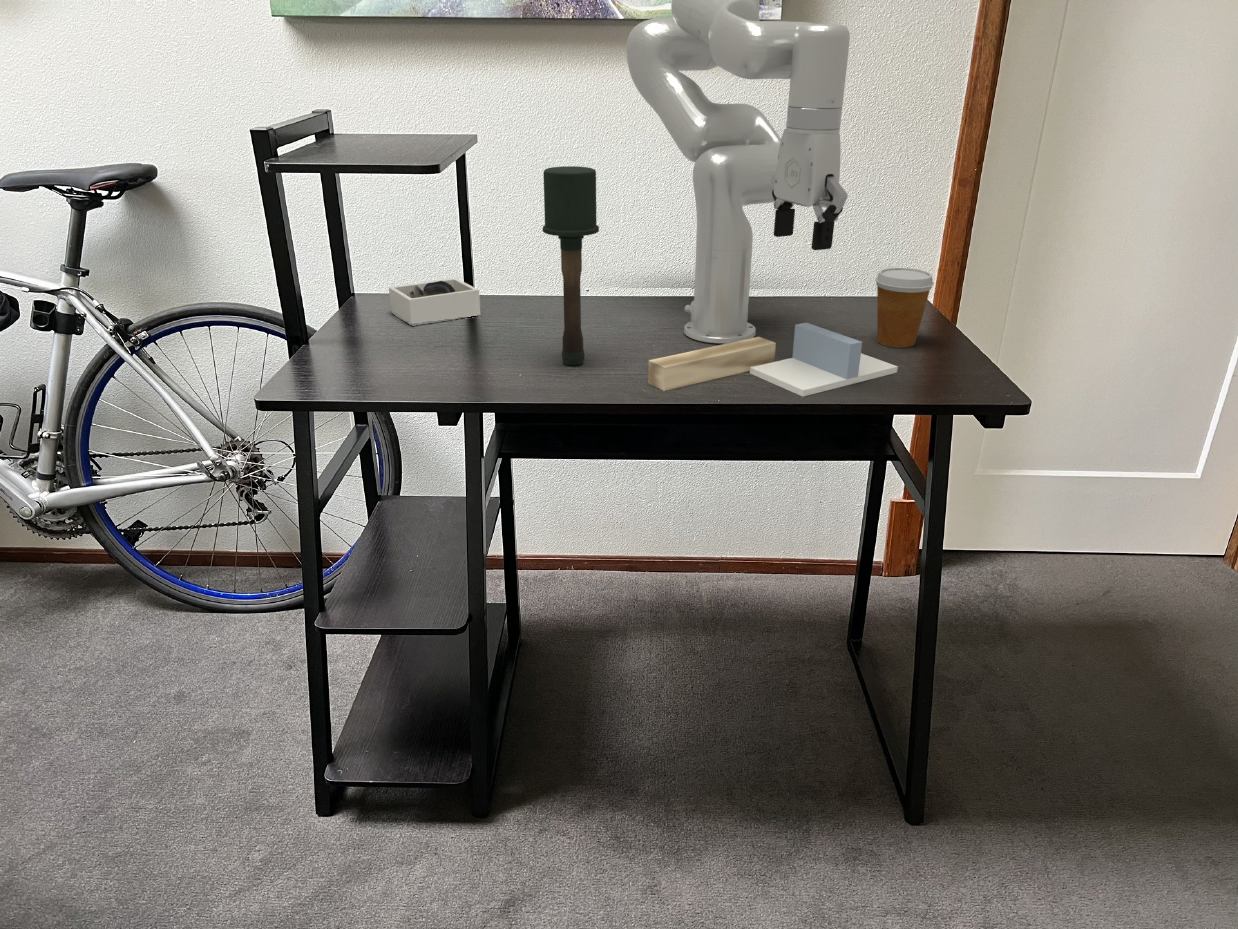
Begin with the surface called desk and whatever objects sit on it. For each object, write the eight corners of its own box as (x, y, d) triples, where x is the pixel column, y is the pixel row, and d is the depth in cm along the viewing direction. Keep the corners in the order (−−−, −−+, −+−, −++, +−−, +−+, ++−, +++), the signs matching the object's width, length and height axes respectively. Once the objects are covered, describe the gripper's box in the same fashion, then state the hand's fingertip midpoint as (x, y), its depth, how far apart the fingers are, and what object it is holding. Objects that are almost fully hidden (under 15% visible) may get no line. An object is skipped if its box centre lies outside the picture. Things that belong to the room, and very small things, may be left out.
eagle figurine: (410, 315, 166) (458, 305, 167) (403, 278, 167) (451, 268, 167) (419, 327, 174) (465, 317, 174) (411, 291, 175) (457, 282, 175)
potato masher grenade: (607, 357, 149) (606, 167, 136) (588, 374, 142) (586, 174, 129) (559, 352, 152) (554, 164, 139) (538, 368, 144) (531, 171, 132)
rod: (648, 385, 139) (648, 360, 137) (757, 360, 150) (759, 336, 148) (663, 393, 136) (664, 367, 134) (773, 366, 147) (775, 342, 145)
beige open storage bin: (391, 313, 173) (388, 287, 170) (457, 303, 179) (456, 278, 177) (411, 327, 164) (409, 299, 162) (480, 316, 171) (479, 289, 169)
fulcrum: (749, 373, 143) (752, 333, 140) (841, 352, 152) (846, 314, 150) (802, 396, 134) (806, 354, 131) (896, 372, 143) (902, 332, 141)
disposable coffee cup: (856, 338, 160) (864, 270, 155) (899, 331, 163) (908, 265, 158) (892, 353, 152) (901, 282, 147) (936, 346, 155) (947, 277, 150)
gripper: (757, 115, 134) (749, 233, 142) (829, 127, 120) (815, 257, 128) (799, 114, 137) (789, 229, 144) (874, 125, 123) (858, 252, 130)
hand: (801, 242), depth 136 cm, fingers open, 9 cm apart
